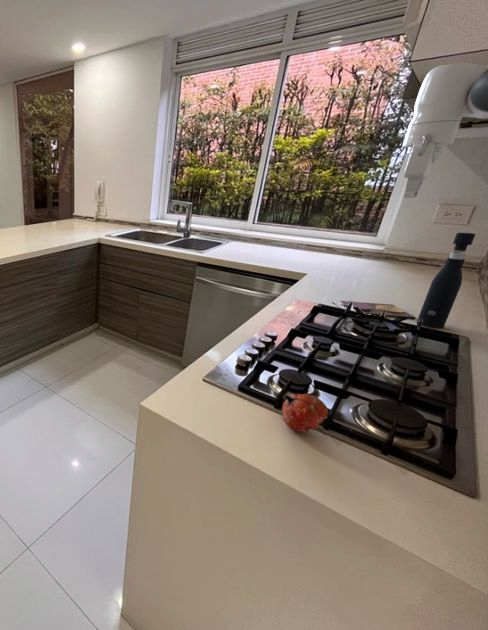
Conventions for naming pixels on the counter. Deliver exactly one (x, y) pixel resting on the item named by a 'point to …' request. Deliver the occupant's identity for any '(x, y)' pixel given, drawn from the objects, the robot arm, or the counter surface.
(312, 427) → the pomegranate
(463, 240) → the dark water bottle
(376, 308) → the placemat
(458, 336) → the counter surface
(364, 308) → the plum plate
